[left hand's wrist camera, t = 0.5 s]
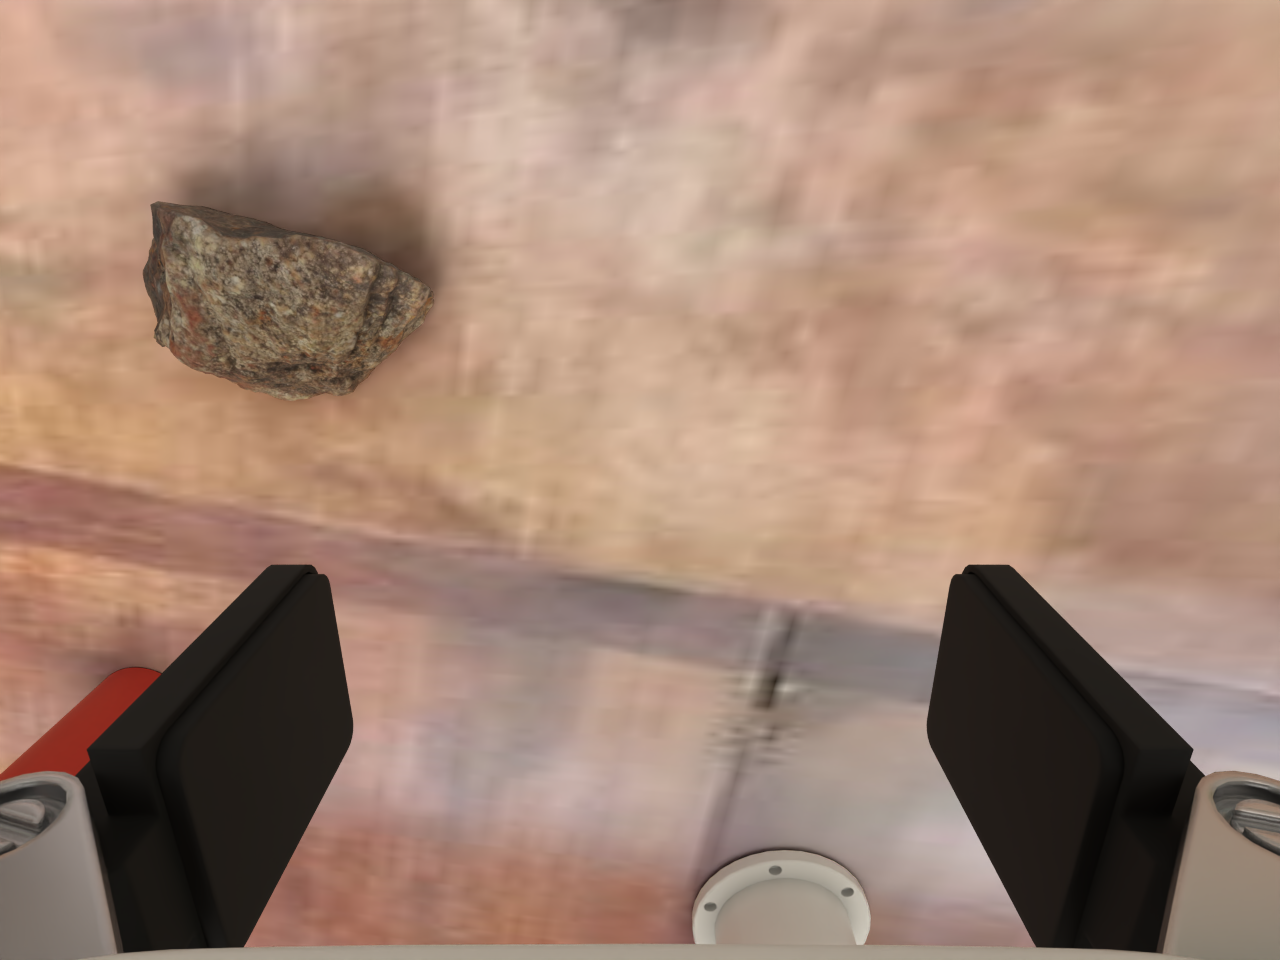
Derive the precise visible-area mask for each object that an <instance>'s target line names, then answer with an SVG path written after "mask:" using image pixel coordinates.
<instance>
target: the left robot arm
mask: <svg viewBox="0 0 1280 960" xmlns="http://www.w3.org/2000/svg"><path fill="white" fill-rule="evenodd" d="M352 734H353V718H352V712H351V706H350V700H349V694H348V688H347V682H346V676H345V670H344V664H343V658H342V652H341V647H340V641H339V635H338V629H337V623H336V617H335V611H334V605H333V599H332V593H331V587H330V583H329V579H328V578H327V576H326V575H324V574H318V572H317V571H316V569H315V567H313V566H312V565H270V566H269V567H267V568H266V569H265V570H264V571H263V572H262V573H261V574H260V575H259V576H258V577H257V578H256V579H255V580H254V581H253V582H252V583H251V584H250V585H249V586H248V587H247V588H246V589H245V590H244V591H243V592H242V593H241V594H240V595H239V596H238V598H237V599H236V600H235V601H234V602H233V603H232V604H231V605H230V606H229V607H228V608H227V609H226V610H225V611H224V612H223V613H222V614H221V615H220V616H219V617H218V618H217V619H216V620H215V621H214V622H213V623H212V624H211V625H210V626H209V627H208V628H207V629H206V630H205V631H204V632H203V633H202V634H201V635H200V636H199V637H198V638H197V639H196V640H195V641H194V642H193V643H192V644H191V645H190V646H189V647H188V648H187V649H186V650H185V651H184V652H183V653H182V654H181V655H180V656H179V657H178V658H177V659H176V660H175V661H174V662H173V663H172V664H171V665H170V666H169V667H168V668H167V669H166V670H165V671H164V672H163V673H162V674H161V675H160V676H159V677H158V678H157V679H156V680H155V681H154V682H153V683H152V684H151V685H150V686H149V687H148V688H147V689H146V690H145V691H144V692H143V693H142V694H141V695H140V696H139V697H138V698H137V699H136V700H135V701H134V702H133V703H132V704H131V705H130V706H129V707H128V708H127V709H126V710H125V711H124V712H123V713H122V714H121V715H120V716H119V717H118V718H117V719H116V720H115V721H114V722H113V723H112V724H111V725H110V726H109V727H108V728H107V729H106V730H105V731H104V732H103V733H102V734H101V735H100V736H99V737H98V738H97V739H96V740H95V741H94V742H93V743H92V744H91V745H90V746H89V747H88V748H87V752H88V756H89V759H90V761H89V762H88V763H87V764H86V765H85V766H84V767H83V768H82V769H81V770H80V771H79V772H78V773H77V774H76V775H75V776H73V775H70V774H68V773H66V772H56V771H42V772H35V773H28V774H22V775H19V776H16V777H12V778H9V779H6V780H2V781H0V960H1280V781H1278V780H1274V779H1271V778H1268V777H1264V776H1261V775H1258V774H1252V773H1245V772H1238V771H1224V772H1214V773H1212V774H1210V775H1207V776H1205V775H1204V774H1203V773H1202V772H1201V771H1200V770H1199V769H1198V768H1197V767H1196V766H1195V765H1194V764H1193V763H1192V762H1191V761H1190V759H1191V755H1192V752H1193V748H1192V747H1191V746H1190V745H1189V744H1188V743H1187V742H1186V741H1185V740H1184V739H1183V738H1182V737H1181V736H1180V735H1179V734H1178V733H1177V732H1176V731H1175V730H1174V729H1173V728H1172V727H1171V726H1170V725H1169V724H1168V723H1167V722H1166V721H1165V720H1164V719H1163V718H1162V717H1161V716H1160V715H1159V714H1158V713H1157V712H1156V711H1155V710H1154V709H1153V708H1152V707H1151V706H1150V705H1149V704H1148V703H1147V702H1146V701H1145V700H1144V699H1143V698H1142V697H1141V696H1140V695H1139V694H1138V693H1137V692H1136V691H1135V690H1134V689H1133V688H1132V687H1131V686H1130V685H1129V684H1128V683H1127V682H1126V681H1125V680H1124V679H1123V678H1122V677H1121V676H1120V675H1119V674H1118V673H1117V672H1116V671H1115V670H1114V669H1113V668H1112V667H1111V666H1110V665H1109V664H1108V663H1107V662H1106V661H1105V660H1104V659H1103V658H1102V657H1101V656H1100V655H1099V654H1098V653H1097V652H1096V651H1095V650H1094V649H1093V648H1092V647H1091V646H1090V645H1089V644H1088V643H1087V642H1086V641H1085V640H1084V639H1083V638H1082V637H1081V636H1080V635H1079V634H1078V633H1077V632H1076V631H1075V630H1074V629H1073V628H1072V627H1071V626H1070V625H1069V624H1068V623H1067V622H1066V621H1065V620H1064V619H1063V618H1062V617H1061V616H1060V615H1059V614H1058V613H1057V612H1056V611H1055V610H1054V609H1053V608H1052V607H1051V606H1050V605H1049V604H1048V603H1047V602H1046V601H1045V600H1044V599H1043V598H1042V597H1041V595H1040V594H1039V593H1038V592H1037V591H1036V590H1035V589H1034V588H1033V587H1032V586H1031V585H1030V584H1029V583H1028V582H1027V581H1026V580H1025V579H1024V578H1023V577H1022V576H1021V575H1020V574H1019V573H1018V572H1017V571H1016V570H1015V569H1014V568H1013V567H1011V566H1010V565H968V566H967V567H965V569H964V571H963V572H962V574H956V575H954V576H953V578H952V579H951V583H950V587H949V593H948V599H947V605H946V611H945V617H944V623H943V629H942V635H941V641H940V647H939V652H938V658H937V664H936V670H935V676H934V682H933V688H932V694H931V700H930V706H929V712H928V718H927V734H928V739H929V743H930V746H931V748H932V750H933V752H934V754H935V756H936V758H937V759H938V761H939V763H940V765H941V767H942V769H943V771H944V773H945V775H946V777H947V779H948V780H949V782H950V784H951V786H952V788H953V790H954V792H955V794H956V796H957V798H958V799H959V801H960V803H961V805H962V807H963V809H964V811H965V813H966V815H967V817H968V819H969V820H970V822H971V824H972V826H973V828H974V830H975V832H976V834H977V836H978V838H979V840H980V841H981V843H982V845H983V847H984V849H985V851H986V853H987V855H988V857H989V859H990V860H991V862H992V864H993V866H994V868H995V870H996V872H997V874H998V876H999V878H1000V880H1001V881H1002V883H1003V885H1004V887H1005V889H1006V891H1007V893H1008V895H1009V897H1010V899H1011V900H1012V902H1013V904H1014V906H1015V908H1016V910H1017V912H1018V914H1019V916H1020V918H1021V920H1022V921H1023V923H1024V925H1025V927H1026V929H1027V931H1028V933H1029V935H1030V937H1031V939H1032V940H1033V942H1034V944H1035V945H1036V947H989V946H918V945H864V943H865V942H866V939H867V936H868V933H869V930H870V921H871V916H870V910H869V905H868V902H867V899H866V896H865V894H864V891H863V889H862V887H861V885H860V884H859V882H858V881H857V879H856V878H855V877H854V876H853V875H852V874H851V873H850V872H849V871H848V870H847V869H846V868H844V867H842V866H841V865H839V864H838V863H836V862H834V861H833V860H830V859H828V858H825V857H823V856H820V855H817V854H812V853H808V852H803V851H792V850H778V851H767V852H762V853H758V854H753V855H750V856H747V857H744V858H742V859H739V860H737V861H734V862H733V863H731V864H729V865H727V866H726V867H724V868H722V869H721V870H720V871H718V872H717V873H716V874H715V875H714V876H712V877H711V878H710V879H709V880H708V881H707V883H706V884H705V885H704V886H703V887H702V889H701V890H700V892H699V894H698V896H697V898H696V900H695V902H694V907H693V911H692V929H693V935H694V941H695V944H508V945H362V946H291V947H244V945H245V944H246V942H247V940H248V939H249V937H250V935H251V933H252V931H253V929H254V927H255V925H256V923H257V921H258V920H259V918H260V916H261V914H262V912H263V910H264V908H265V906H266V904H267V902H268V900H269V899H270V897H271V895H272V893H273V891H274V889H275V887H276V885H277V883H278V881H279V880H280V878H281V876H282V874H283V872H284V870H285V868H286V866H287V864H288V862H289V860H290V859H291V857H292V855H293V853H294V851H295V849H296V847H297V845H298V843H299V841H300V840H301V838H302V836H303V834H304V832H305V830H306V828H307V826H308V824H309V822H310V820H311V819H312V817H313V815H314V813H315V811H316V809H317V807H318V805H319V803H320V801H321V799H322V798H323V796H324V794H325V792H326V790H327V788H328V786H329V784H330V782H331V780H332V779H333V777H334V775H335V773H336V771H337V769H338V767H339V765H340V763H341V761H342V759H343V758H344V756H345V754H346V752H347V750H348V748H349V746H350V743H351V739H352Z"/></svg>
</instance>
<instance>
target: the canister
mask: <svg viewBox="0 0 1280 960" xmlns="http://www.w3.org/2000/svg"><path fill="white" fill-rule="evenodd" d="M160 675H161V673H159V672H156V671H153V670H150V669H146V668H134V667H133V668H125V669H121V670H119V671H116V672H114V673H112V674H111V675H110V676H108V677H107V678H106V679H105V680H104V681H103V682H102V683H101V684H100V685H98V686H97V687H96V688H95V689H94V690H93V691H92V692H91V693H90V694H88V695H87V696H86V697H85V698H84V699H83V700H82V701H81V702H80V703H79V704H77V705H76V706H75V707H74V708H73V709H72V710H71V711H70V712H69V713H68V714H66V715H65V716H64V717H63V718H62V719H61V720H60V721H59V722H58V723H57V724H55V725H54V726H53V727H52V728H51V729H50V730H49V731H48V732H47V733H46V734H44V735H43V736H42V737H41V738H40V739H39V740H38V741H37V742H36V743H35V744H33V745H32V746H31V747H30V748H29V749H28V750H27V751H26V752H25V753H23V754H22V755H21V756H20V757H19V758H18V759H17V760H16V761H15V762H14V763H12V764H11V765H10V766H9V767H8V768H7V769H6V770H5V771H4V772H3V773H1V774H0V781H2V780H6V779H9V778H12V777H16V776H19V775H22V774H28V773H35V772H42V771H56V772H66V773H68V774H70V775H73V776H75V775H76V774H77V773H78V772H79V771H80V770H81V769H82V768H83V767H84V766H85V765H86V764H87V763H88V762H89V761H90V759H89V756H88V752H87V748H88V747H89V746H90V745H91V744H92V743H93V742H94V741H95V740H96V739H97V738H98V737H99V736H100V735H101V734H102V733H103V732H104V731H105V730H106V729H107V728H108V727H109V726H110V725H111V724H112V723H113V722H114V721H115V720H116V719H117V718H118V717H119V716H120V715H121V714H122V713H123V712H124V711H125V710H126V709H127V708H128V707H129V706H130V705H131V704H132V703H133V702H134V701H135V700H136V699H137V698H138V697H139V696H140V695H141V694H142V693H143V692H144V691H145V690H146V689H147V688H148V687H149V686H150V685H151V684H152V683H153V682H154V681H155V680H156V679H157V678H158V677H159V676H160Z"/></svg>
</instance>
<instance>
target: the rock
mask: <svg viewBox="0 0 1280 960" xmlns="http://www.w3.org/2000/svg"><path fill="white" fill-rule="evenodd" d="M151 210H152V217H153V236H154V238H153V240H152V246H151V248H150V250H149V259H148V262H147V264H146V266H145V268H144V270H143V278H144V282H145V287H146V290H147V293H148V295H149V297H150V298H151V301H152V304H153V307H154V311H155V315H156V317H157V322H158V323H157V326H156V328H155V330H154V331H155V334H154V338H155V339H156V342H157V343H159V344H160V345H161V346H162V347H164V346H166V347H168V348H169V349H170V351H171V352H172V353H173V355H174V356H175V357H176V358H177V359H178V360H179V361H180V362H182V363H184V364H186V365H187V366H189V367H190V368H192V369H194V370H197V371H200V372H204V373H205V374H213V375H215V376H217V377H219V378H226V379H228V380H230V381H231V382H233V383H236V384H237V385H238V386H240V387H241V388H243V389H247V390H250V391H253V392H260V393H266V394H269V395H271V396H273V397H276V398H279V399H282V400H288V401H295V400H297V399H308V398H311V397H313V396H316V395H320V394H323V393H330V394H332V395H335V396H339V395H340V396H343V395H347V394H349V393H352V392H354V390H355V388H356V387H357V385H358V384H359V383H361V382H362V381H364V379H366V378H367V377H368V376H369V374H370V373H371V372H372V371H373V369H374V368H375V367H376V366H377V365H379V364H380V363H381V362H382V361H383V360H384V359H386V358H387V357H388V356H389V355H390V354H391V353H392V352H394V351H396V349H397V347H398V346H399V344H400V343H401V342H402V341H403V340H404V339H405V338H406V337H407V336H408V335H409V334H411V333H412V332H413V331H414V330H415V329H416V328H418V327H419V326H421V325H422V324H423V323H424V320H425V316H426V314H427V312H428V311H429V310H430V308H431V307H432V306H433V302H434V299H433V292H432V291H431V289H430V288H429V287H428V286H426V285H425V284H424V283H423V282H422V281H420V280H419V279H418V278H415V277H412V276H411V275H410V274H408V273H406V272H404V271H401V270H399V269H398V268H397V267H395V266H394V265H393V264H391V263H387V262H384V261H383V260H381V259H379V258H378V257H376V256H375V255H373V254H371V253H370V252H368V251H366V250H364V249H362V248H359V247H356V246H352V245H348V244H345V243H342V242H339V241H335V240H331V239H327V238H324V237H319V236H314V235H310V234H305V233H299V232H293V231H288V230H284V229H280V228H277V227H275V226H273V225H271V224H269V223H267V222H262V221H258V220H255V219H252V218H247V217H242V216H236V215H231V214H228V213H225V212H221V211H217V210H214V209H210V208H207V207H203V206H184V205H178V204H171V203H165V202H156V203H153V204H151Z"/></svg>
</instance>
